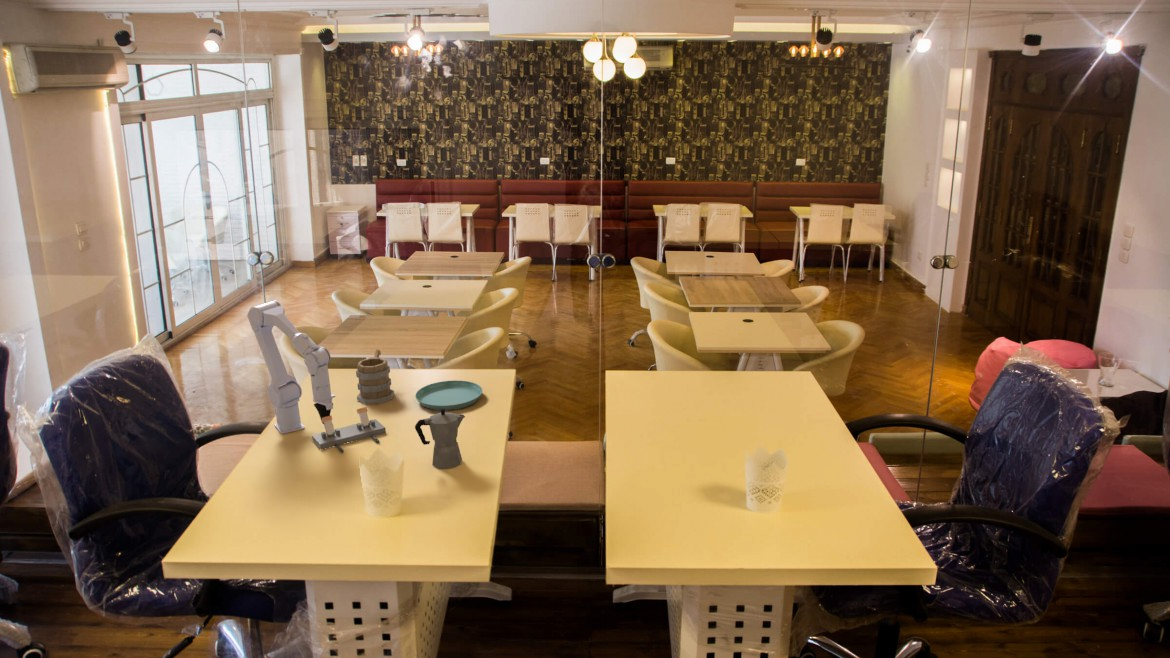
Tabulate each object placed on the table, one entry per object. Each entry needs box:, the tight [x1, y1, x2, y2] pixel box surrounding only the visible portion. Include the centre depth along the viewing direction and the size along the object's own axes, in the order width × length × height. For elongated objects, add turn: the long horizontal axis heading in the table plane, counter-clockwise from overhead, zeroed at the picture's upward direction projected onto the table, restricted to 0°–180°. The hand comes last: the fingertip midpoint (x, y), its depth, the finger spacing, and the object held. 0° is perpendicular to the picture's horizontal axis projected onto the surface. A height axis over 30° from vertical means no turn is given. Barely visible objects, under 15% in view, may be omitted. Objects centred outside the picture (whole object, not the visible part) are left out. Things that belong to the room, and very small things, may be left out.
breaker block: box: [311, 419, 387, 454], centre depth 295 cm, size 16×22×4 cm
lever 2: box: [356, 406, 370, 428], centre depth 301 cm, size 2×3×6 cm, turn 121°
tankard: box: [355, 349, 395, 405], centre depth 333 cm, size 20×13×15 cm, turn 179°
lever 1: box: [320, 415, 335, 437], centre depth 295 cm, size 2×3×6 cm, turn 121°
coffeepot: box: [414, 409, 466, 470], centre depth 274 cm, size 15×9×18 cm, turn 110°
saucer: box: [414, 379, 483, 411], centre depth 327 cm, size 24×24×3 cm
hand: (325, 423), depth 297 cm, fingers closed, pressing on lever 1
